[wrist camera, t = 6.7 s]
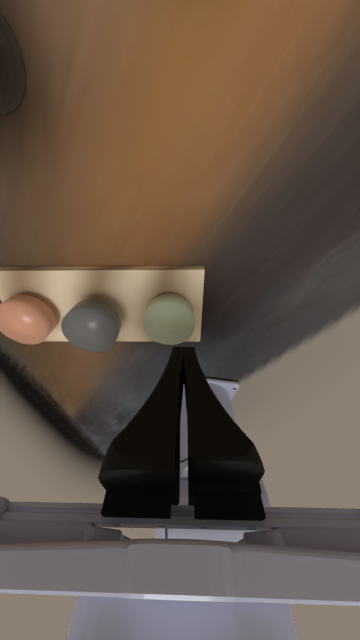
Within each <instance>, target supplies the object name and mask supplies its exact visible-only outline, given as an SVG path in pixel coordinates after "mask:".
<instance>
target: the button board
mask: <svg viewBox="0 0 360 640" xmlns="http://www.w3.org/2000/svg"><path fill="white" fill-rule="evenodd" d="M204 271H205V269H204V266H47V267H0V299H1V301H2V302H4V301H5V300H7V299H8V298H10V297H11V296H14V295H19V294H22V295H29V296H32V297H35V298H37V299H39V300H40V301H42V302H44V303H45V304H46V305H47V306H48V307H49V308H50V309H51V310H52V311H53V313H54V315H55V317H56V327H55V328H54V330H53V331H52V332H51V333H50V334H49V335H48V336H47V337H46V339H45V340H44V341H68V340H67V339H66V338H65V336H64V335H63V333H62V330H61V322H62V319H63V318H64V317H65V315H66V314H67V313H68V312H69V311H70V310H71V309H72V308H73V306H74V305H75V304H77V303H78V302H81V301H84V300H95V301H99V302H102V303H104V304H106V305H108V306H110V307H111V308H112V309H113V310H114V311H115V312H116V313H117V314H118V316H119V318H120V320H121V330H120V333H119V335H118V337H117V340H116V341H143V342H156V341H154V340H153V339H151V338H150V337H149V336H148V335H147V333H146V332H145V330H144V326H143V320H144V317H145V313H146V310H147V307H148V305H149V303H150V302H151V301H152V300H153V299H154V298H156V297H158V296H160V295H164V294H174V295H178V296H181V297H183V298H184V299H186V300H187V301H188V302H189V303H190V304H191V306H192V308H193V310H194V321H195V328H194V332H193V334H192V335H191V336H190V338H188V339H187V340H186V341H184V342H200V337H201V320H202V304H203V288H204Z"/></svg>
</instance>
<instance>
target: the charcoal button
mask: <svg viewBox="0 0 360 640" xmlns="http://www.w3.org/2000/svg"><path fill="white" fill-rule="evenodd" d="M61 330H62V333H63V335H64V336H65V338H66V339H67V340H68V341H69V342H70V343H71V344H73V345H74V346H76V347H77V348H79V349H82V350H85V351H88V352H104V351H107V350H109V349H110V348H112V347H113V345H114V344H115V342H116V340H117V337H118V335H119V333H120V330H121V320H120V318H119V316H118V314H117V313H116V312H115V311H114V310H113V309H112V308H111V307H110V306H108V305H106V304H104V303H102V302H99V301H95V300H84V301H81V302H78V303H77V304H75V305H74V306H73V308H72V309H71V310H70V311H69V312H68V313H67V314H66V315H65V317H64V318H63V319H62V322H61Z"/></svg>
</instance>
